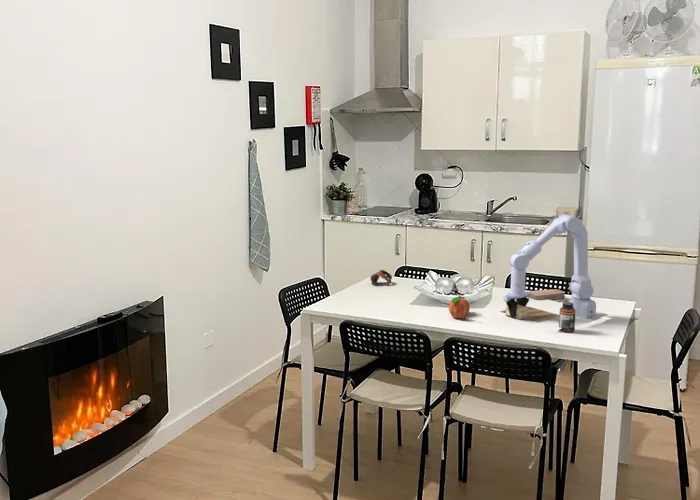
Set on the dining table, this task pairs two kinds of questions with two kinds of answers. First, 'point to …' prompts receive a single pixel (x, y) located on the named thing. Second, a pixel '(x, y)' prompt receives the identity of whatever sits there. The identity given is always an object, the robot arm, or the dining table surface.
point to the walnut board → (538, 315)
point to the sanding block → (518, 312)
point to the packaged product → (548, 295)
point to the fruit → (459, 307)
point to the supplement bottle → (567, 318)
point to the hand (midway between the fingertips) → (516, 315)
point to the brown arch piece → (383, 275)
